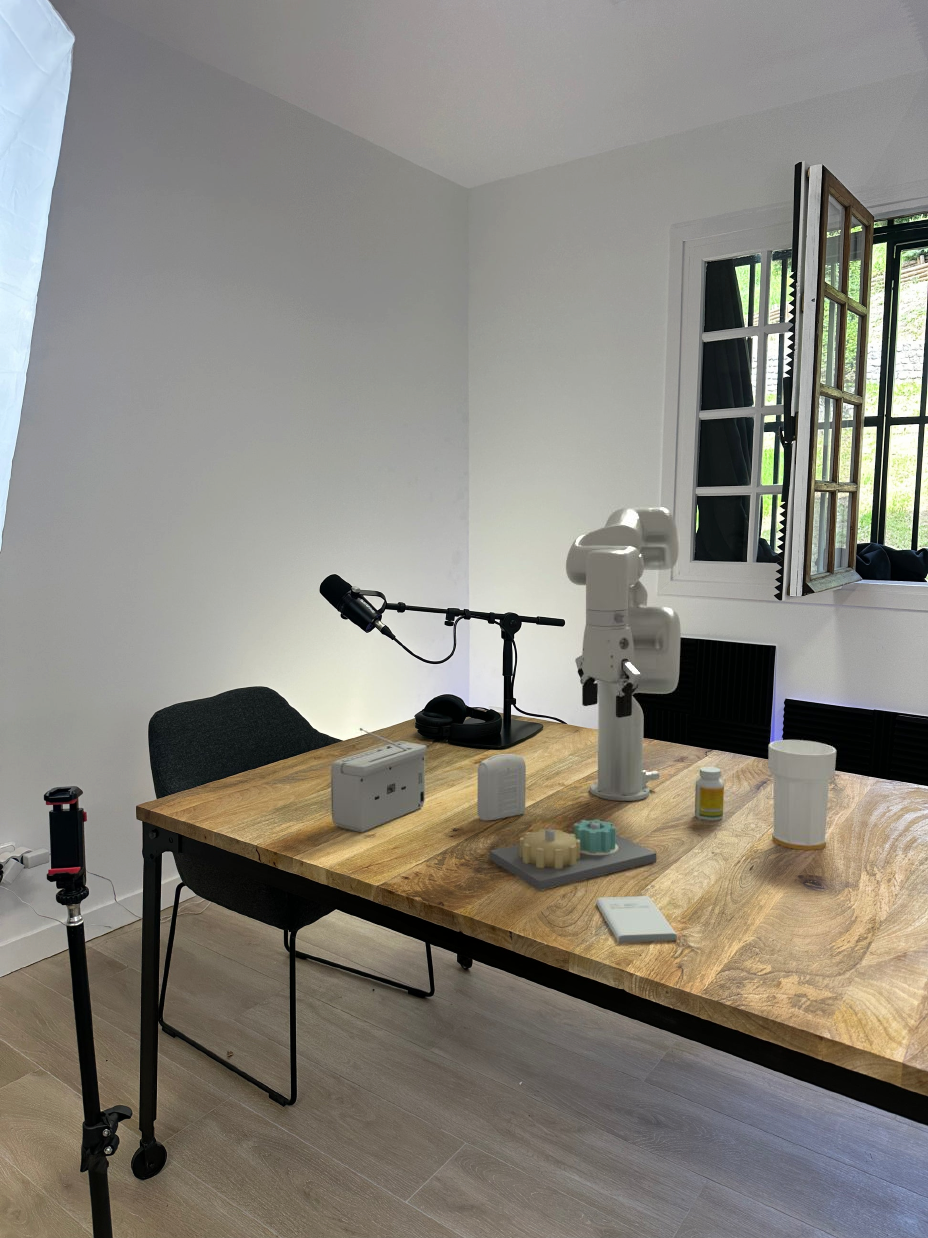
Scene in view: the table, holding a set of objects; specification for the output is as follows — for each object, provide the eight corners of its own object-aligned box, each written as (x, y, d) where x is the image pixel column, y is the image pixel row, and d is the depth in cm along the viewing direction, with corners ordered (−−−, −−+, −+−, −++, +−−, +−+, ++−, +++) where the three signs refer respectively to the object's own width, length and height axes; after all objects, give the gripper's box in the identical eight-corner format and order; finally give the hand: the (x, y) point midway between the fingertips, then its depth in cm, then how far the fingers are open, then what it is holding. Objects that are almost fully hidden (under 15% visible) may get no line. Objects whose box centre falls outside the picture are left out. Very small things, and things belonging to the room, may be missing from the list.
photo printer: (515, 808, 173) (516, 748, 172) (528, 814, 170) (529, 753, 168) (474, 817, 168) (473, 756, 166) (486, 823, 164) (486, 761, 163)
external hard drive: (618, 947, 116) (596, 907, 128) (676, 944, 116) (649, 905, 129) (618, 935, 116) (596, 896, 128) (677, 933, 116) (649, 895, 129)
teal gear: (597, 836, 152) (598, 817, 152) (623, 849, 146) (624, 828, 146) (566, 843, 149) (566, 823, 148) (591, 856, 143) (591, 835, 142)
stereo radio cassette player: (399, 800, 179) (398, 707, 177) (430, 807, 174) (430, 711, 172) (329, 828, 162) (327, 725, 160) (361, 837, 157) (360, 730, 155)
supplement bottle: (689, 814, 169) (690, 767, 168) (711, 811, 171) (713, 764, 170) (705, 822, 164) (706, 774, 163) (728, 819, 166) (730, 771, 165)
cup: (752, 835, 157) (754, 743, 155) (799, 827, 161) (802, 737, 160) (798, 856, 147) (801, 757, 145) (847, 847, 151) (851, 751, 149)
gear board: (600, 835, 157) (600, 803, 157) (656, 861, 144) (656, 827, 144) (489, 859, 146) (489, 825, 145) (539, 890, 133) (539, 853, 132)
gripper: (655, 622, 148) (654, 718, 150) (593, 611, 163) (593, 698, 165) (621, 626, 144) (621, 724, 147) (561, 614, 159) (561, 703, 162)
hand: (606, 710), depth 156 cm, fingers open, 9 cm apart
